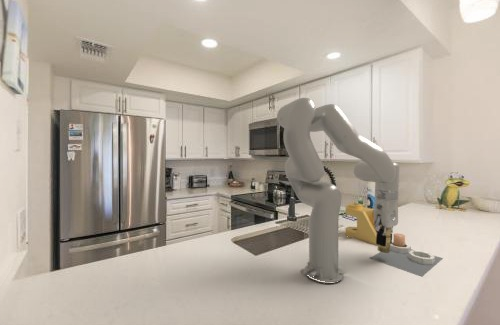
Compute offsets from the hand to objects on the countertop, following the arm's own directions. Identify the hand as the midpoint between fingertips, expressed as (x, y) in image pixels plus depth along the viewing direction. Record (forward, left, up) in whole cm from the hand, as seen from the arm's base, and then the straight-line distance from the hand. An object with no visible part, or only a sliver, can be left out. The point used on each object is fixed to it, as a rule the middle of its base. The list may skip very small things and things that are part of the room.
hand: (383, 243), depth 86 cm
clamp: (+19, +17, -8) cm, 26 cm away
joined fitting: (+15, +1, -6) cm, 16 cm away
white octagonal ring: (+11, -8, -6) cm, 15 cm away
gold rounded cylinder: (0, 0, -3) cm, 3 cm away
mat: (+8, -4, -7) cm, 12 cm away
